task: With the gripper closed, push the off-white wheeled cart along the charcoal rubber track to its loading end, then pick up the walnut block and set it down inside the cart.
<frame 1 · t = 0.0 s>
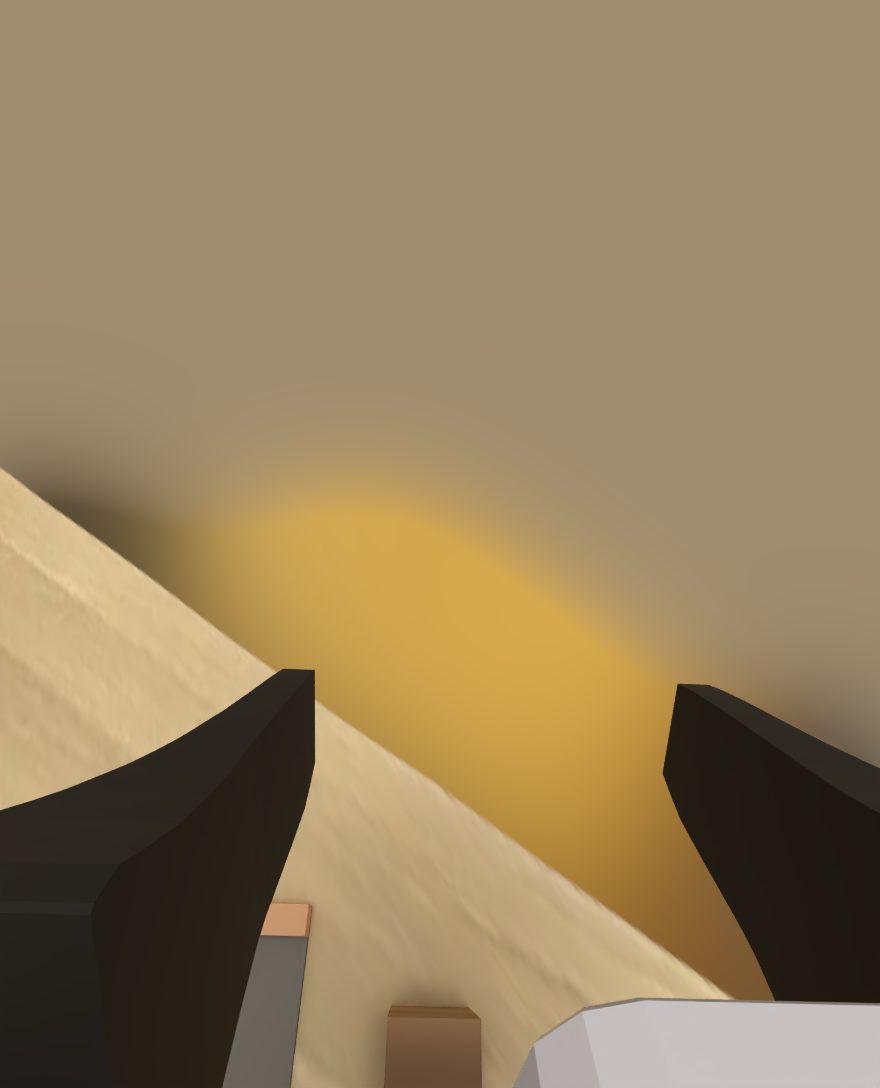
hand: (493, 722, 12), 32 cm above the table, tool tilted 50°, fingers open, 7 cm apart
walnut block: (428, 1057, 34), on the table
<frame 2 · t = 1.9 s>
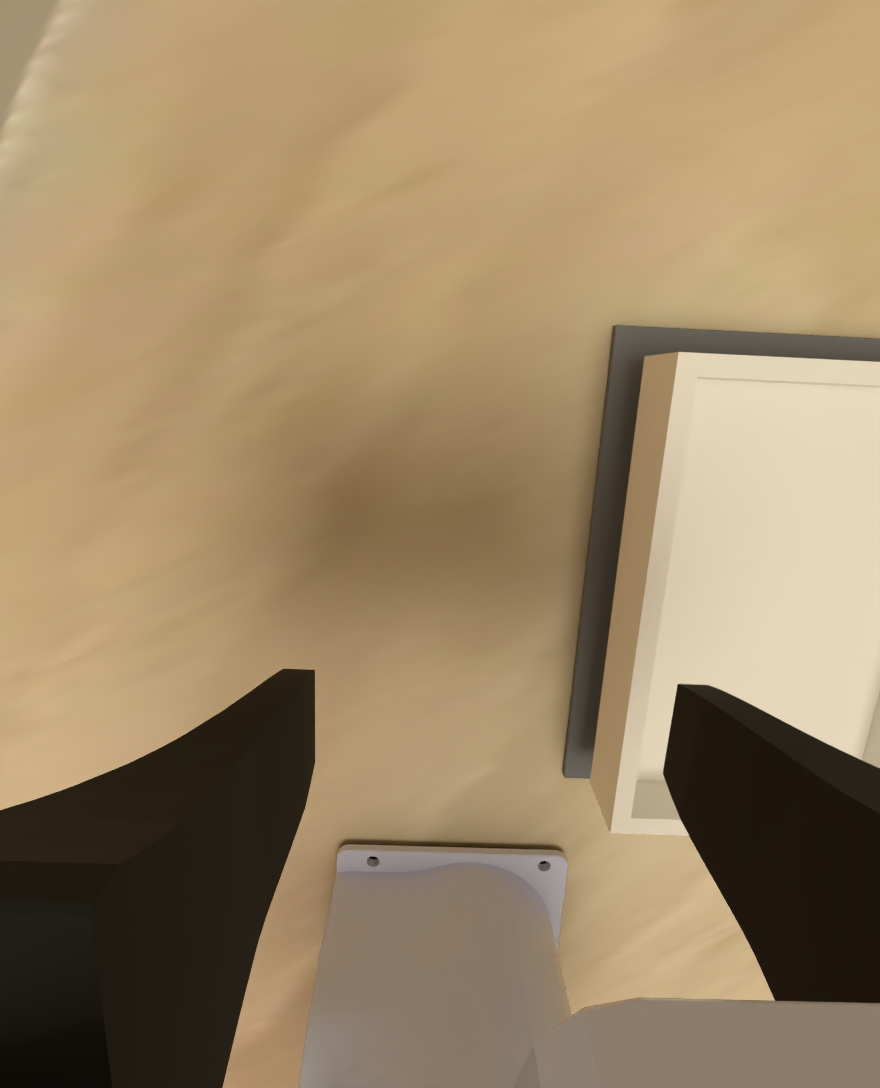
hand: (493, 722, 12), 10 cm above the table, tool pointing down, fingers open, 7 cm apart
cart: (770, 601, 20), point 3 cm above the table, slide at 0.0 cm
track mat: (866, 583, 22), on the table
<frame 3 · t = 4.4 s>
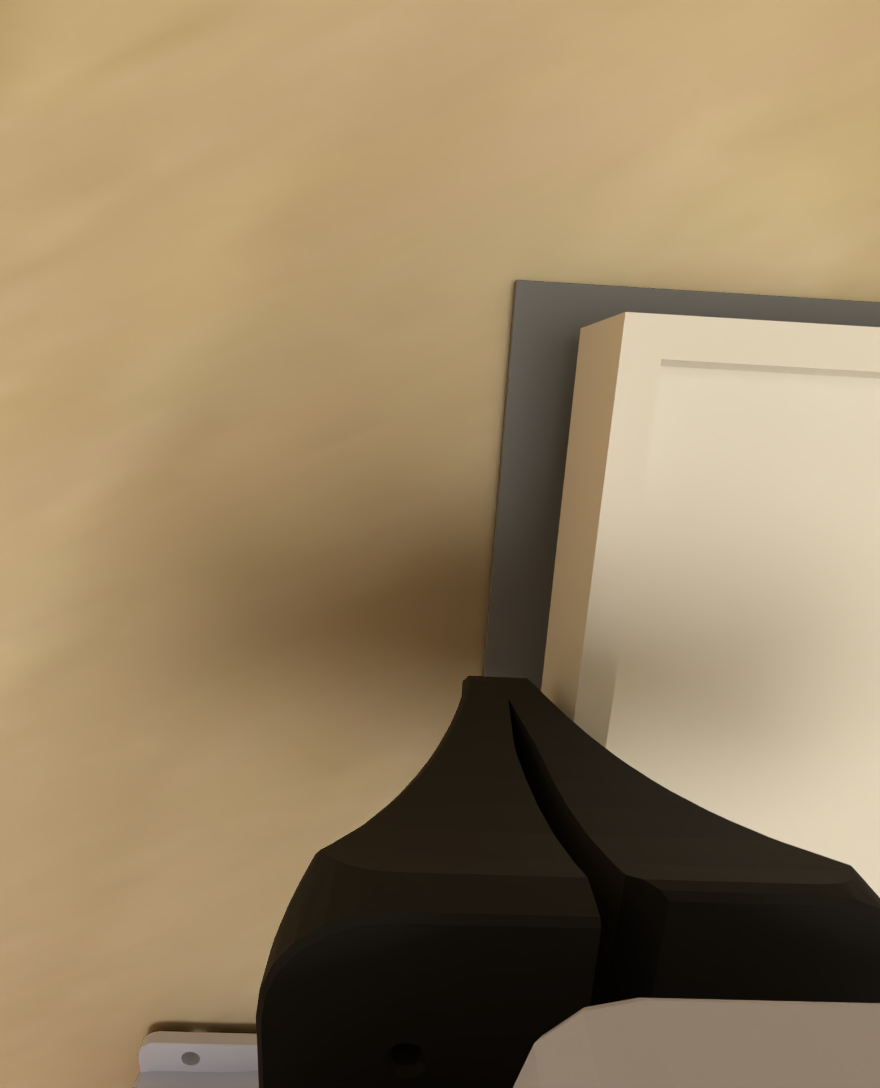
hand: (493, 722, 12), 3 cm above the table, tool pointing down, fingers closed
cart: (786, 724, 12), point 3 cm above the table, slide at 0.5 cm, touching gripper
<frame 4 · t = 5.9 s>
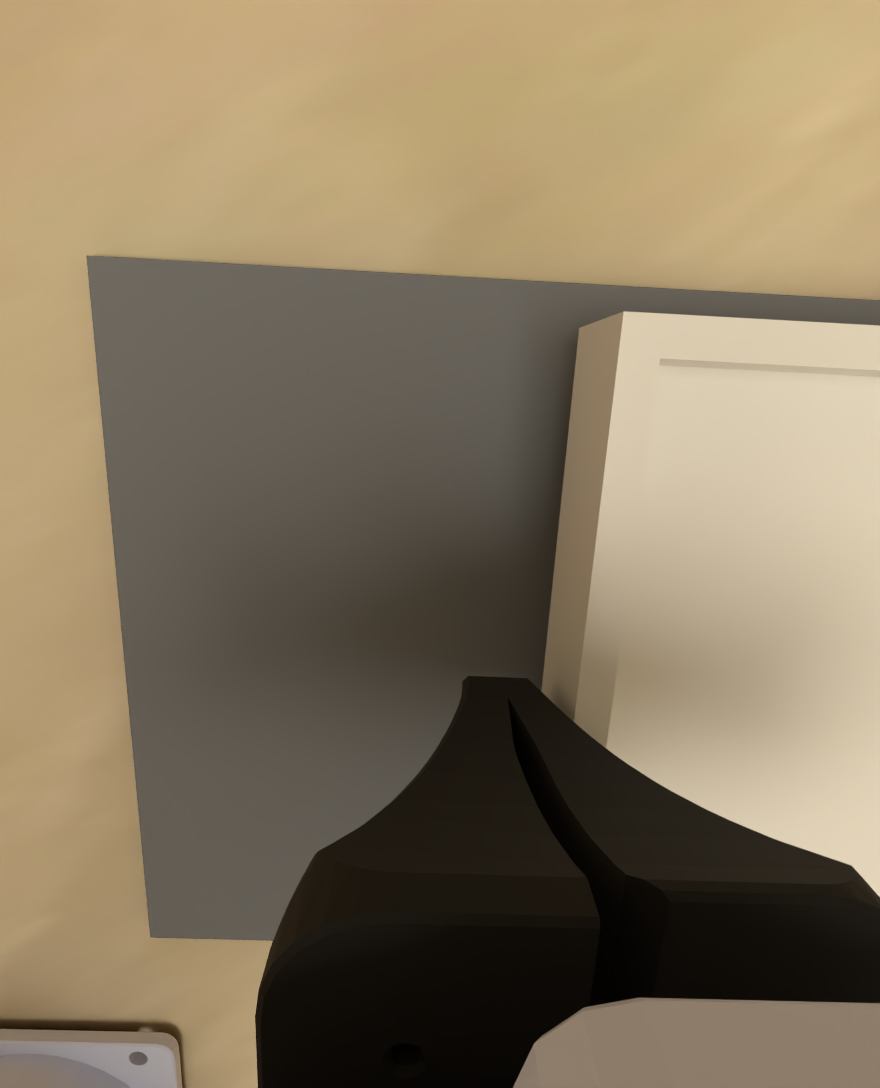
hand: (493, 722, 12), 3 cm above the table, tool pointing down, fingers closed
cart: (786, 723, 12), point 2 cm above the table, slide at 9.1 cm, touching gripper
track mat: (564, 661, 15), on the table
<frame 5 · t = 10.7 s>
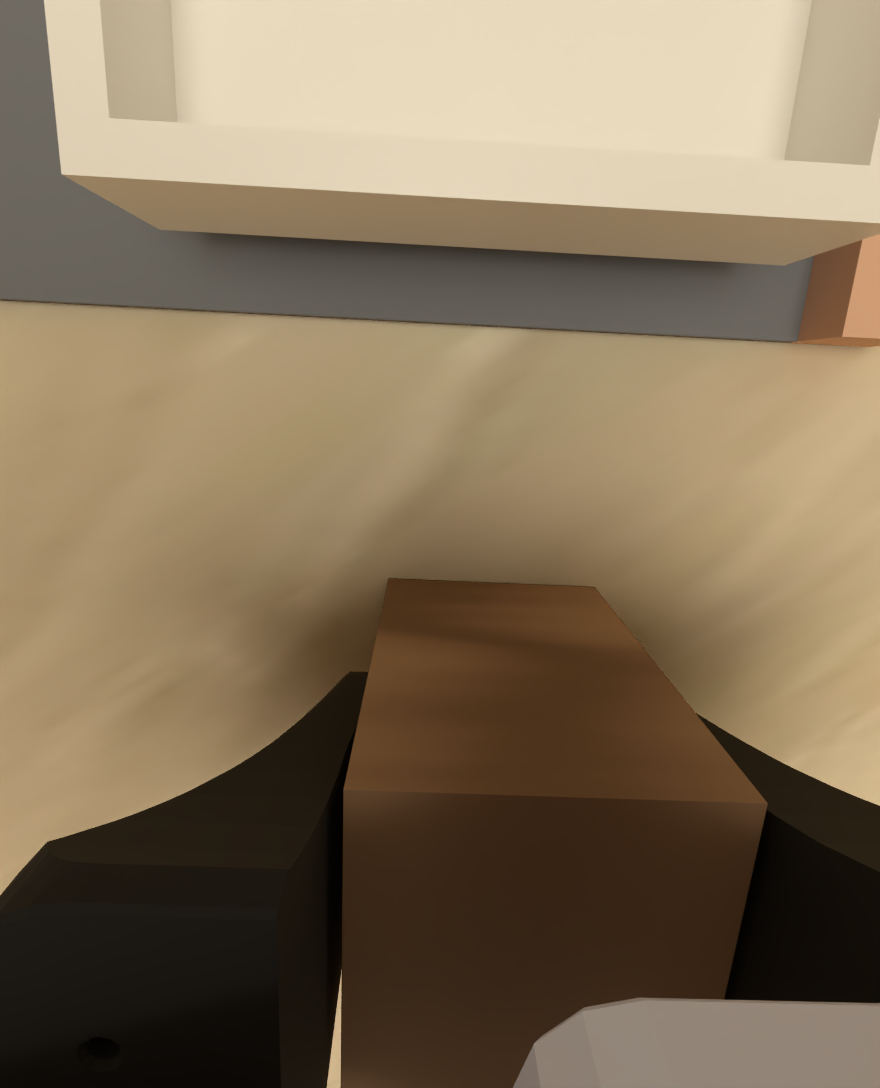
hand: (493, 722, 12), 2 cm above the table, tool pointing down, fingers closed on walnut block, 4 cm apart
walnut block: (484, 676, 14), on the table, touching gripper
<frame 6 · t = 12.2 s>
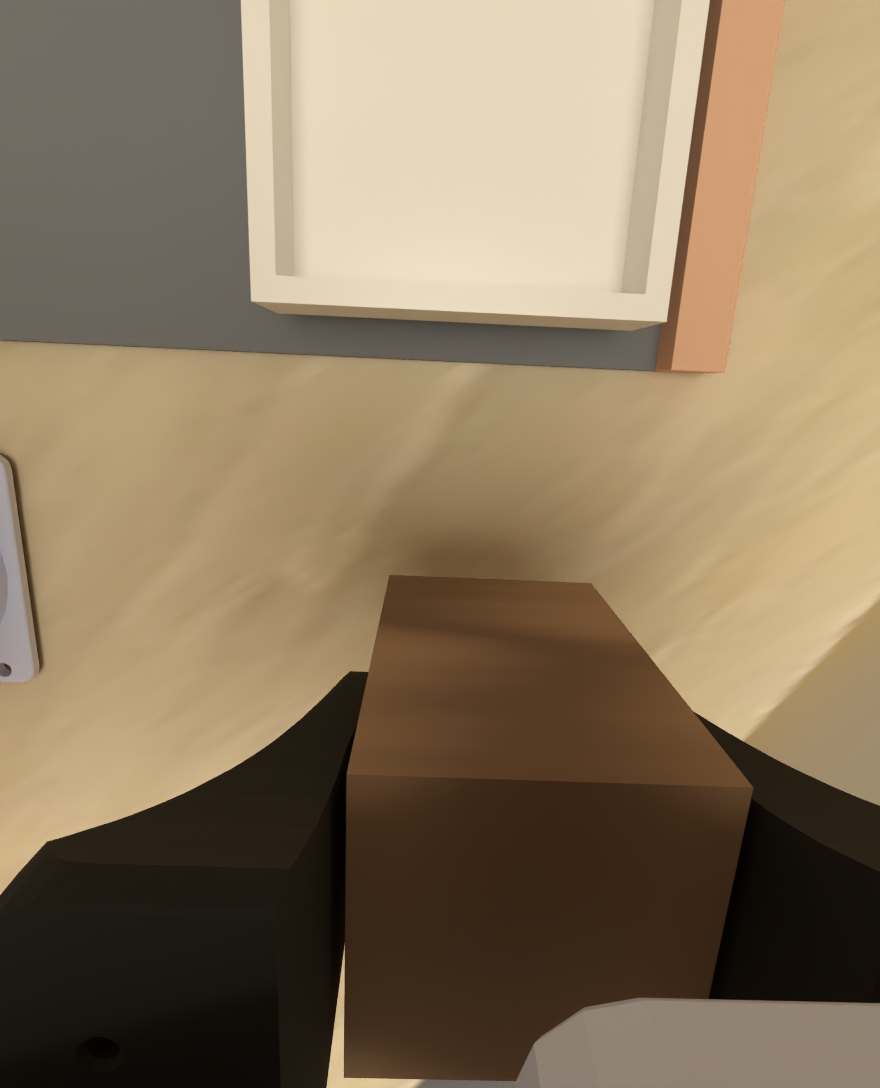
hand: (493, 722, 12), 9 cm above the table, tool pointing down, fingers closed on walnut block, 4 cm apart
walnut block: (484, 671, 14), point 7 cm above the table, touching gripper
track mat: (320, 36, 17), on the table
when the fingers open (6 cm above the table, at t = 14.2 s): walnut block stays where it is, resting on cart.
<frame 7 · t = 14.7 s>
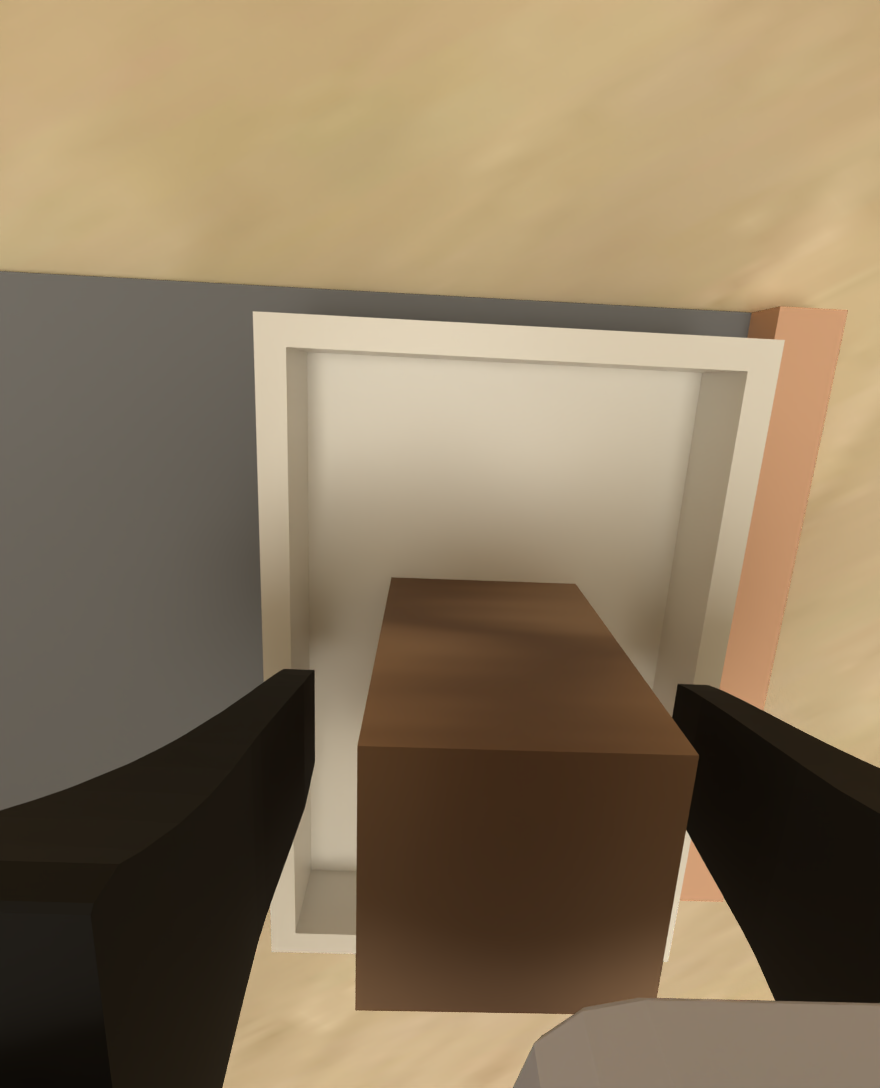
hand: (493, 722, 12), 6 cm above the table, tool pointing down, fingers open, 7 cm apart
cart: (485, 648, 15), point 2 cm above the table, slide at 9.1 cm, touching walnut block
walnut block: (478, 664, 15), point 2 cm above the table, touching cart
track mat: (335, 606, 17), on the table
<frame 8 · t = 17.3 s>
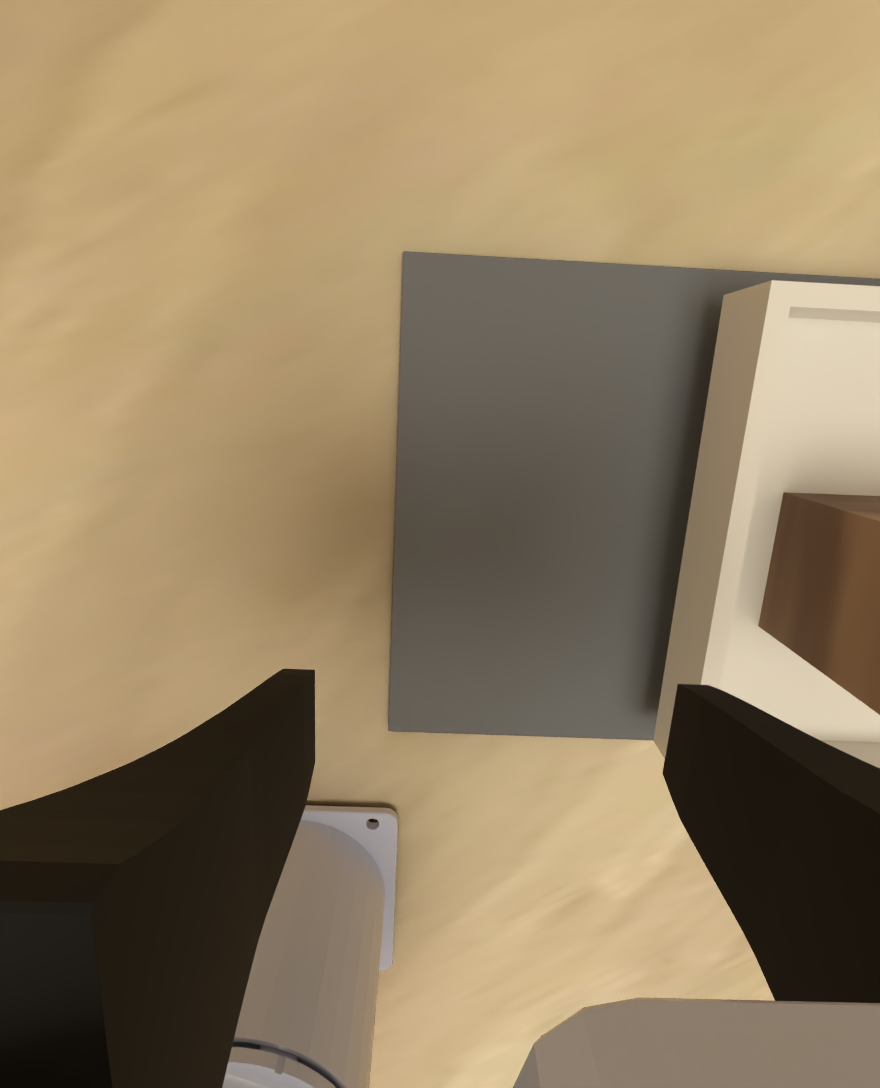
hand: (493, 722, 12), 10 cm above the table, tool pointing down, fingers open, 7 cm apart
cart: (846, 550, 19), point 2 cm above the table, slide at 9.1 cm, touching walnut block
walnut block: (838, 563, 19), point 2 cm above the table, touching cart
track mat: (687, 527, 22), on the table
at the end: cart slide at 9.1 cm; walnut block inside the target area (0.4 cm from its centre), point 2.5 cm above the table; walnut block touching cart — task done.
